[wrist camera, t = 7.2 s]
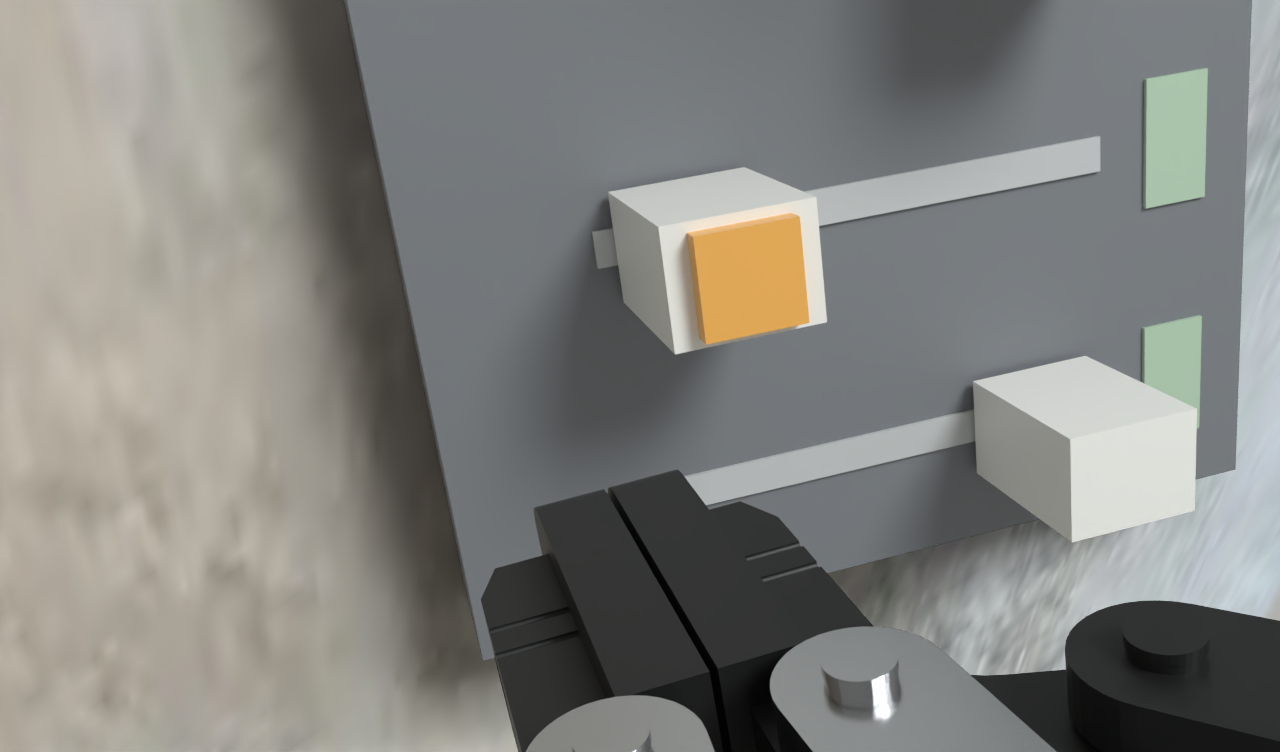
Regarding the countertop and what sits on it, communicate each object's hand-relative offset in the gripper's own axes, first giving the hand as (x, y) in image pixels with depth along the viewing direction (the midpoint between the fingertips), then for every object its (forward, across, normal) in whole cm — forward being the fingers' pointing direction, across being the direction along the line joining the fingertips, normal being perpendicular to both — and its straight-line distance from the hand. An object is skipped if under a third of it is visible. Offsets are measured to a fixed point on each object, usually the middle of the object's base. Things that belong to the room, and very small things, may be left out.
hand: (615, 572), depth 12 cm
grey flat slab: (+17, -9, 0) cm, 19 cm away
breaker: (+14, -13, +6) cm, 20 cm away
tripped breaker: (+14, -5, 0) cm, 14 cm away
